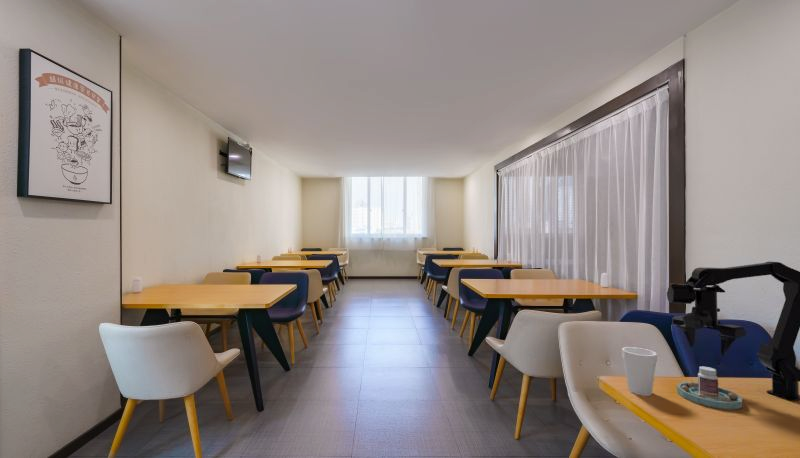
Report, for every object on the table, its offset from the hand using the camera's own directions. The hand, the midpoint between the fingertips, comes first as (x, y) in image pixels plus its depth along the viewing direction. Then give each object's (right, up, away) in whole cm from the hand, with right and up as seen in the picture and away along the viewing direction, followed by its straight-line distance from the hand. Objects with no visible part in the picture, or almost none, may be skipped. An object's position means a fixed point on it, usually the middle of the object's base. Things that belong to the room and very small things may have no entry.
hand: (707, 350), depth 118 cm
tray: (-8, -12, -9) cm, 17 cm away
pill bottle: (-8, -11, -9) cm, 16 cm away
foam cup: (-26, -12, -5) cm, 29 cm away
